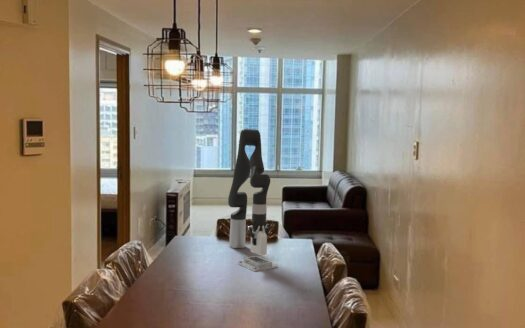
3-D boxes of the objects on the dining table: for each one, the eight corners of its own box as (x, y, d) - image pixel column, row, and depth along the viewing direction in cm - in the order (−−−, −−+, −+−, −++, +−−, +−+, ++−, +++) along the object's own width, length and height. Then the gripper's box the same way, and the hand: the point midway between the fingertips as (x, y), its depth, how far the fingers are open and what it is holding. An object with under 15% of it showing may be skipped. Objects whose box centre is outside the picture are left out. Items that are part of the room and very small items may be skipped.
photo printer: (249, 251, 264) (249, 228, 263) (255, 250, 266) (256, 228, 265) (261, 256, 256) (262, 232, 255) (267, 255, 258) (268, 231, 257)
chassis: (237, 263, 264) (237, 258, 264) (260, 259, 272) (260, 254, 272) (254, 271, 251) (254, 265, 250) (278, 267, 259) (278, 261, 259)
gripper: (266, 210, 267) (265, 241, 268) (243, 212, 258) (243, 244, 260) (274, 212, 260) (273, 244, 262) (252, 214, 252) (251, 247, 254)
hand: (258, 244), depth 261 cm, fingers closed on photo printer, 4 cm apart
